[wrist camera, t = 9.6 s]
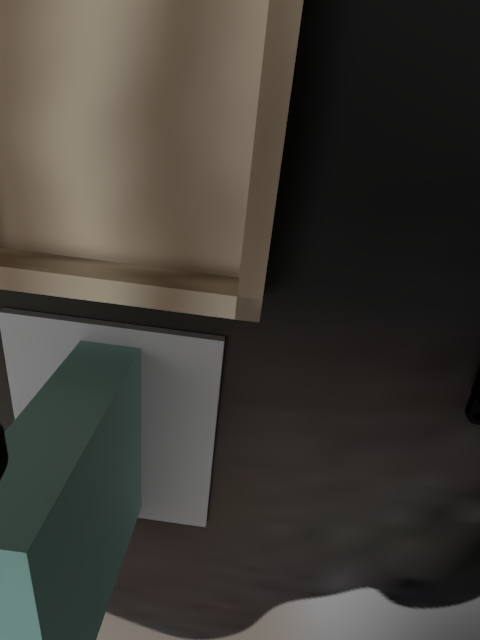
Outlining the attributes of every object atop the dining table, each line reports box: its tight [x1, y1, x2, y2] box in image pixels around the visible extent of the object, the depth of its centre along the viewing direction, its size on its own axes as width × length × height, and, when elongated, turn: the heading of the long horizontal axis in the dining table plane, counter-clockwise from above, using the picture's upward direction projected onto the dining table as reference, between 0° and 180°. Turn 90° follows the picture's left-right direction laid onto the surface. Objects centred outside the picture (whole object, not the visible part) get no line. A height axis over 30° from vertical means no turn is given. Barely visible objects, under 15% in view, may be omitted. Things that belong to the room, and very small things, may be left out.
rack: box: [0, 0, 304, 322], centre depth 16 cm, size 20×16×3 cm
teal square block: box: [0, 340, 142, 640], centre depth 19 cm, size 3×11×11 cm, turn 175°
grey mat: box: [0, 308, 225, 527], centre depth 25 cm, size 11×13×1 cm
